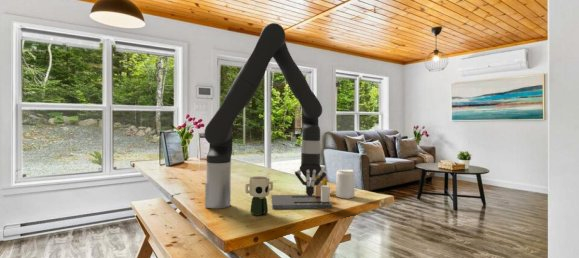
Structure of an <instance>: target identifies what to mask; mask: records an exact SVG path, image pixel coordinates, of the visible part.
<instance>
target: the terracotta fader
mask: <svg viewBox="0 0 579 258" xmlns="http://www.w3.org/2000/svg"><path fill="white" fill-rule="evenodd" d="M321 186H323V182H322V181H321V182H320V183H319V184H318V185H315V193H314V195H315V196H321Z"/></svg>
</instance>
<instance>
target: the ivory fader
mask: <svg viewBox="0 0 579 258" xmlns="http://www.w3.org/2000/svg"><path fill="white" fill-rule="evenodd" d="M330 194H331V186H330V185H327V186H321V201H322V202H330V201H331V200H330V198H331V197H330V196H331V195H330ZM330 203H331V202H330Z"/></svg>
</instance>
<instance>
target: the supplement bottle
mask: <svg viewBox="0 0 579 258" xmlns="http://www.w3.org/2000/svg"><path fill="white" fill-rule="evenodd" d="M320 167H321V170H322V171H323V172H325V173H326V176H325V177H324V178H323V179H322V182H323V186H328V172H327V171H326V170H325V169H326V165H321V164H320ZM319 174H320V172H319ZM319 174H318V175H317V176H316V177H315V181H316V180H317V178H318V177H319V176H320V175H319ZM314 194H315V186H314Z"/></svg>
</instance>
